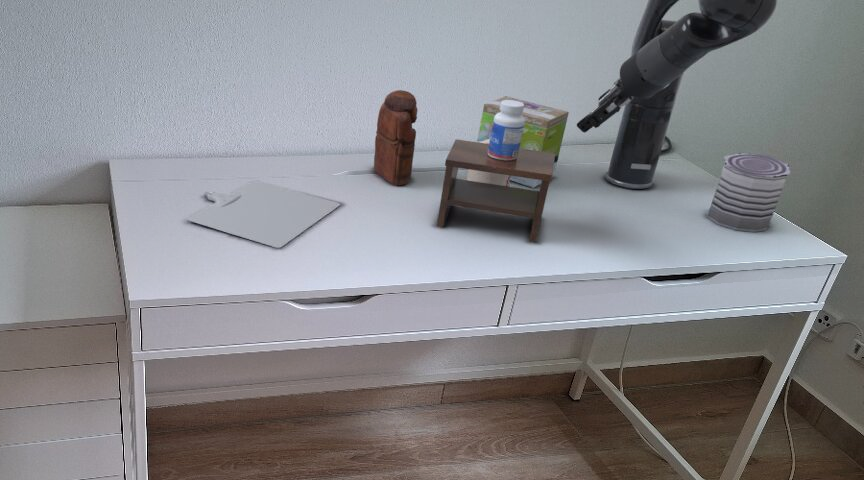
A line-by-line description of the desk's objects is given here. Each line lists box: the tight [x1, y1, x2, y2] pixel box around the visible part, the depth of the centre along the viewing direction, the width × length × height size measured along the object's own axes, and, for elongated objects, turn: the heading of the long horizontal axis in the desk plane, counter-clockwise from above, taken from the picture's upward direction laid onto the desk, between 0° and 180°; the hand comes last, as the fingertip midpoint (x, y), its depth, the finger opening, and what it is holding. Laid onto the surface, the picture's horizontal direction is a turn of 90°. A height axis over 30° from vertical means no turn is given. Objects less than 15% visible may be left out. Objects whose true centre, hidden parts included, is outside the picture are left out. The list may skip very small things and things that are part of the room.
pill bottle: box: [488, 100, 525, 161], centre depth 155 cm, size 6×5×10 cm
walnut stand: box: [436, 138, 555, 243], centre depth 160 cm, size 13×18×13 cm
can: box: [707, 152, 791, 233], centre depth 167 cm, size 11×11×12 cm
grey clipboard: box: [186, 180, 341, 249], centre depth 163 cm, size 25×24×1 cm
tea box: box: [476, 95, 570, 189], centre depth 184 cm, size 15×10×15 cm
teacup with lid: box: [465, 139, 511, 187], centre depth 176 cm, size 12×9×12 cm
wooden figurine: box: [373, 89, 418, 186], centre depth 179 cm, size 12×6×18 cm, turn 21°
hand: (591, 115), depth 158 cm, fingers open, 8 cm apart
